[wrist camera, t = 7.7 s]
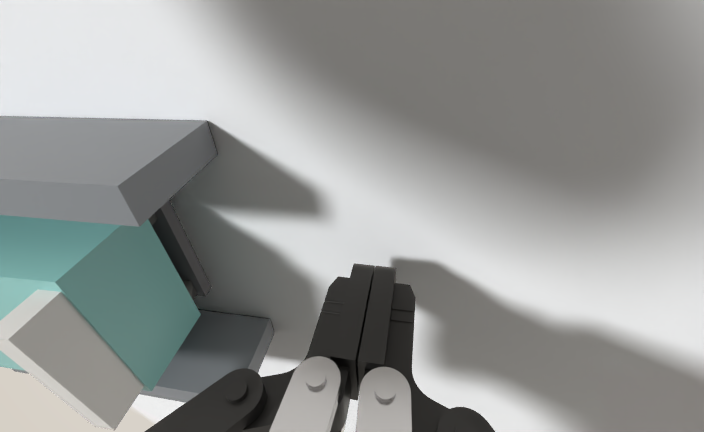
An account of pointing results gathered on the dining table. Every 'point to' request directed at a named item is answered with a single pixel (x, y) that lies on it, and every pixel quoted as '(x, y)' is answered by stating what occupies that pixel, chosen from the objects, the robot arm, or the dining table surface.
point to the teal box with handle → (96, 306)
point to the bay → (126, 212)
